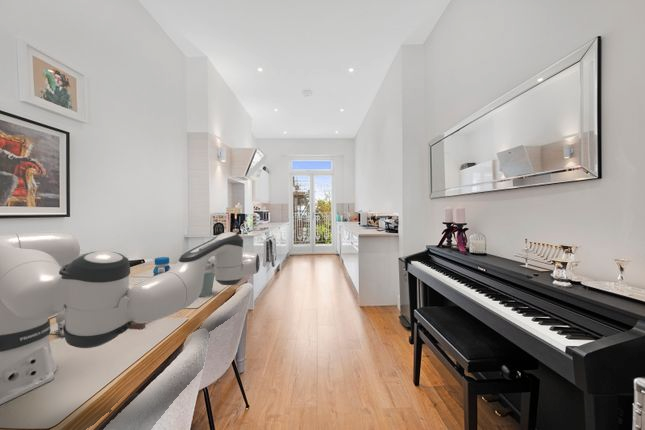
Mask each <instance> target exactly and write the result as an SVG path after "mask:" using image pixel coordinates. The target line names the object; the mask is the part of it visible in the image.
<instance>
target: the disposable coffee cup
mask: <svg viewBox="0 0 645 430" xmlns="http://www.w3.org/2000/svg"><path fill="white" fill-rule="evenodd" d="M214 280H215V274H213V273H212V272H211V271H210V270H206V271H205V274H204V281H203V287H202V291H201V293H200V295H199V297H209V296H211V295H212V293H213V287H214Z"/></svg>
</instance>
